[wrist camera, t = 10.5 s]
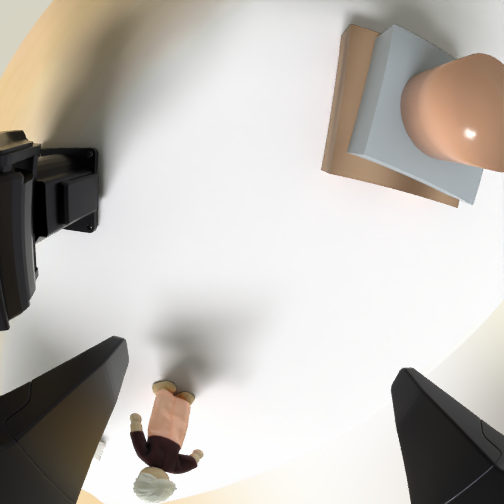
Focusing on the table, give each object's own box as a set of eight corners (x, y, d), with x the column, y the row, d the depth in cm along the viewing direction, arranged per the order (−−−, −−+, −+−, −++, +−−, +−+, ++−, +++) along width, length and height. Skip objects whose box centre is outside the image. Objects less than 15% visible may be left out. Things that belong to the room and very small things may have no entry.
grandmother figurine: (139, 388, 27) (100, 487, 15) (150, 369, 26) (107, 478, 14) (204, 418, 28) (186, 518, 16) (219, 402, 27) (204, 512, 15)
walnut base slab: (319, 169, 19) (329, 173, 16) (339, 38, 16) (351, 24, 13) (436, 199, 19) (457, 207, 17) (453, 82, 16) (475, 78, 13)
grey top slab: (346, 152, 16) (363, 154, 13) (375, 38, 13) (394, 23, 10) (447, 194, 16) (472, 205, 14) (471, 93, 14) (497, 90, 11)
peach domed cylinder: (394, 144, 13) (448, 148, 8) (404, 58, 11) (455, 32, 6) (464, 171, 13) (523, 186, 8) (474, 92, 11) (531, 86, 6)
